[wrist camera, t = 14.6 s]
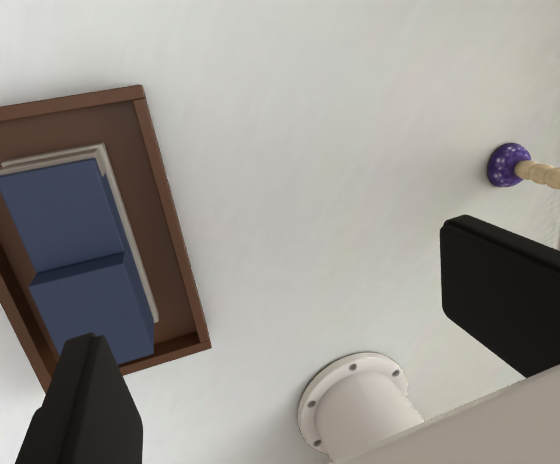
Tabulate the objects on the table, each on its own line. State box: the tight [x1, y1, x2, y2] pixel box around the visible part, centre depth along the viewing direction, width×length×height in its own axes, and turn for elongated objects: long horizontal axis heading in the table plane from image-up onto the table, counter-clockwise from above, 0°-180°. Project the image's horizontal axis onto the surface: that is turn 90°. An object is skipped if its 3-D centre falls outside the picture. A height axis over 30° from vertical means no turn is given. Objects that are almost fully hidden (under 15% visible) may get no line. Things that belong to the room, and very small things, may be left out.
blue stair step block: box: [0, 142, 159, 365], centre depth 26 cm, size 6×14×6 cm, turn 9°
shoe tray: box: [0, 85, 212, 394], centre depth 28 cm, size 21×13×2 cm, turn 9°
